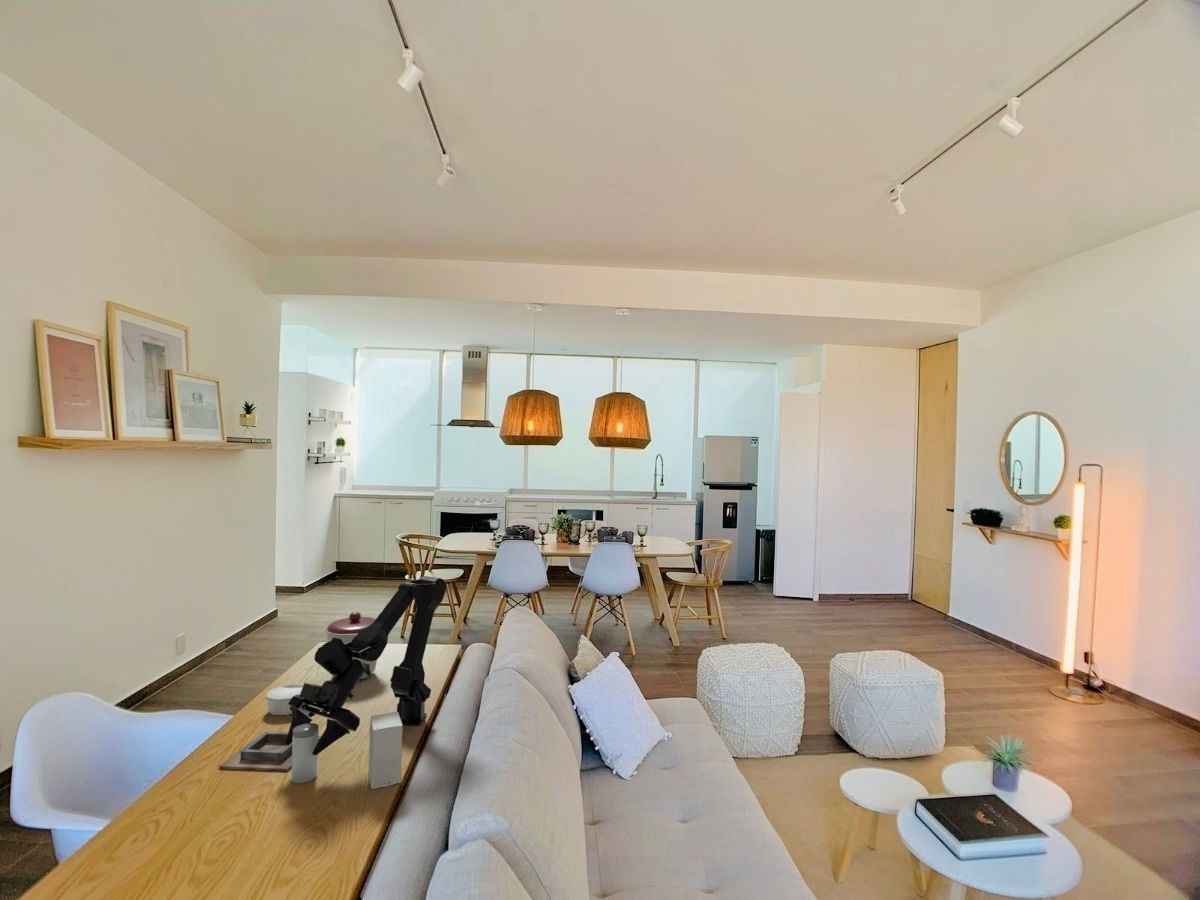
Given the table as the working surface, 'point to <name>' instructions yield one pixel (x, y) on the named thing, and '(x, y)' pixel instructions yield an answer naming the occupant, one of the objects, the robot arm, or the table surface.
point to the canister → (350, 632)
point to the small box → (385, 750)
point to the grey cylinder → (304, 753)
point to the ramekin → (282, 698)
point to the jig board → (263, 754)
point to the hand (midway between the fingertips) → (299, 749)
